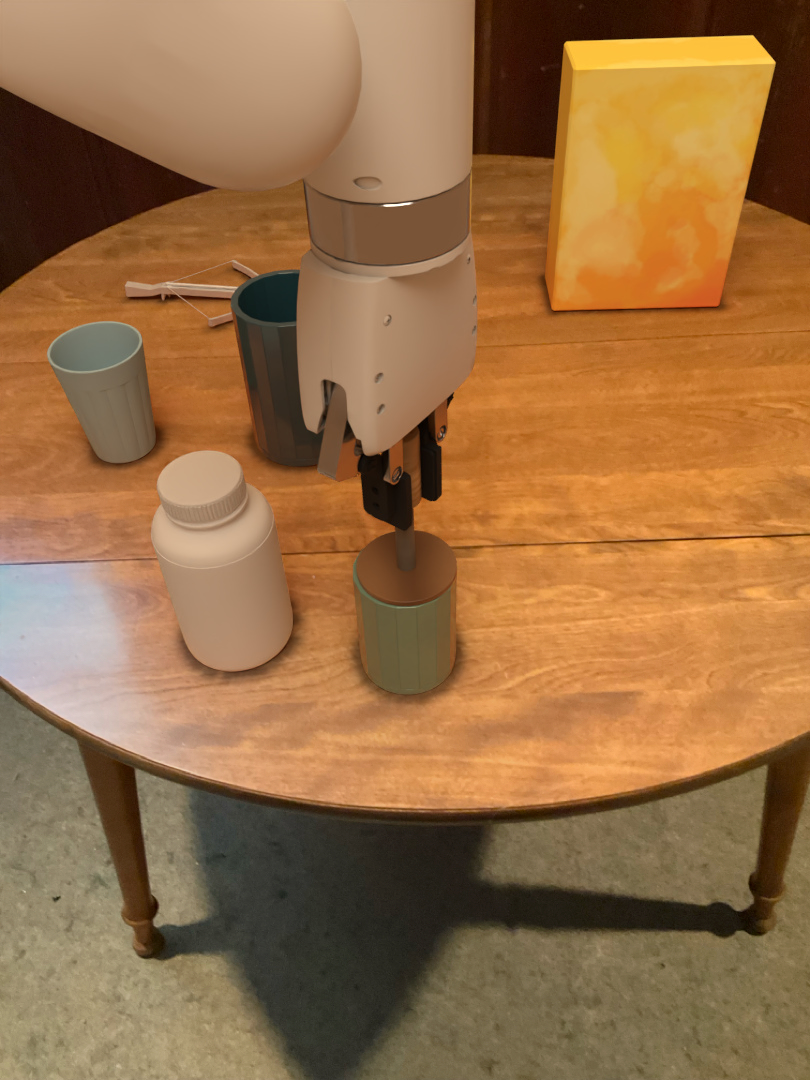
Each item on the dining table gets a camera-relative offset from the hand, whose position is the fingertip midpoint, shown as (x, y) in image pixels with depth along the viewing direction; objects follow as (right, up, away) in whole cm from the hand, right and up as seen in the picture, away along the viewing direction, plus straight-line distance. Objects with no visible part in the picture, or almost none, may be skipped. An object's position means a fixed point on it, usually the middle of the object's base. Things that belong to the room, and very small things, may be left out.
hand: (402, 503), depth 55 cm
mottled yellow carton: (+24, +26, +46) cm, 59 cm away
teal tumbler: (-9, +7, +29) cm, 31 cm away
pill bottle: (-12, -9, +12) cm, 19 cm away
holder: (0, -10, +10) cm, 15 cm away
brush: (+1, -10, +9) cm, 14 cm away
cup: (-25, +6, +28) cm, 39 cm away
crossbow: (-22, +24, +46) cm, 57 cm away
